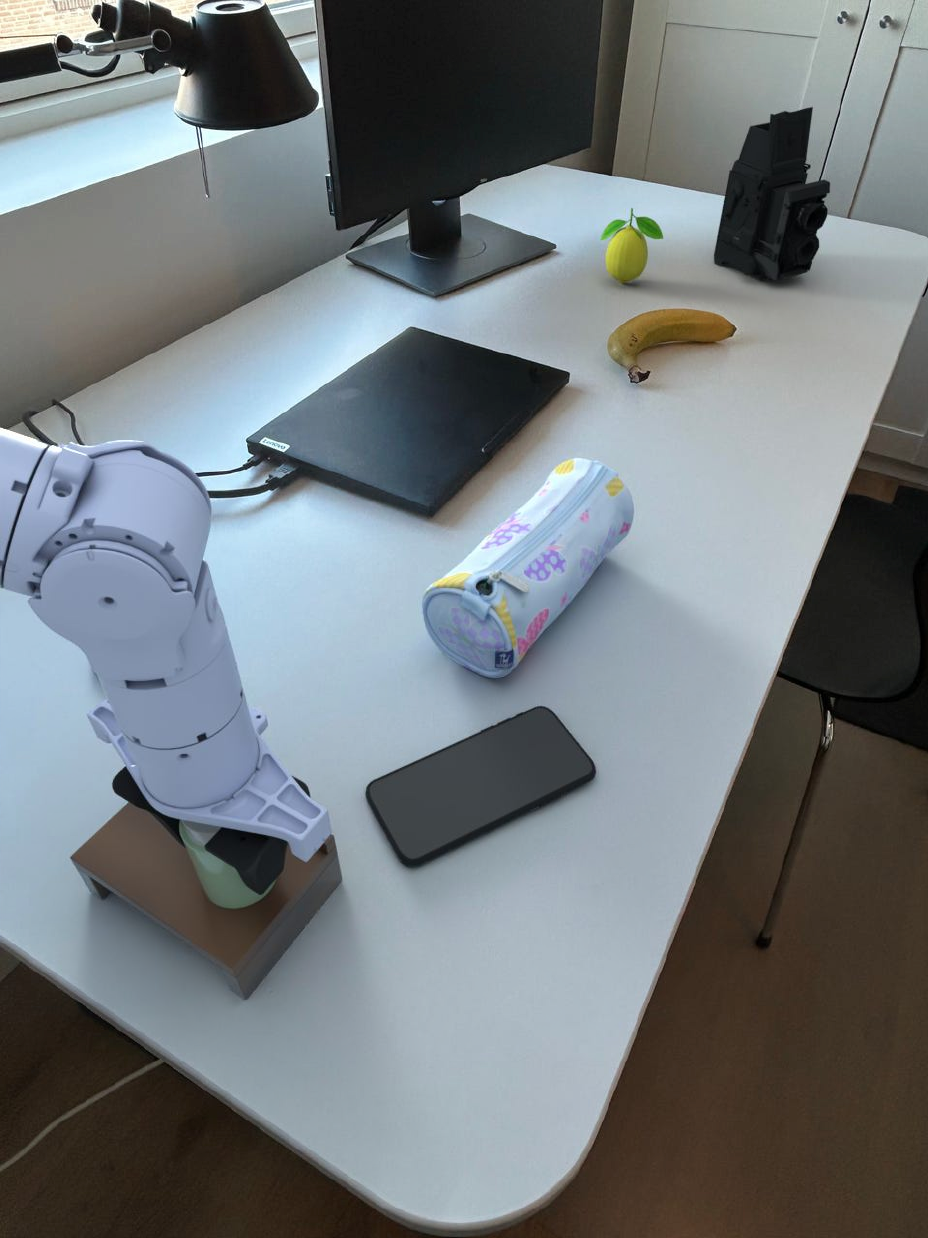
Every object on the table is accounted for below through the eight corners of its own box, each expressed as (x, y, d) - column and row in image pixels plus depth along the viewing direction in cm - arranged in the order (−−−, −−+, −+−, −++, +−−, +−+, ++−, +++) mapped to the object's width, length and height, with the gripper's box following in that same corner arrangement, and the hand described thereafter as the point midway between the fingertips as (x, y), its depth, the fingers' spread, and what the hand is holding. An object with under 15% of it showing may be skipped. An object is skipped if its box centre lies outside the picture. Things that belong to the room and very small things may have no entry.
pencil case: (505, 704, 66) (509, 611, 59) (413, 656, 69) (407, 564, 63) (633, 557, 78) (648, 467, 72) (549, 523, 82) (556, 434, 75)
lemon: (656, 289, 119) (667, 212, 113) (618, 296, 118) (627, 219, 111) (630, 271, 124) (640, 196, 117) (594, 277, 122) (601, 202, 115)
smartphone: (358, 783, 60) (545, 699, 65) (359, 791, 60) (544, 707, 65) (406, 869, 55) (603, 771, 60) (407, 876, 56) (602, 779, 60)
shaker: (189, 902, 50) (158, 832, 45) (218, 836, 53) (192, 763, 48) (263, 915, 49) (240, 844, 44) (288, 847, 52) (269, 774, 48)
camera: (771, 297, 117) (811, 130, 103) (703, 262, 126) (732, 104, 112) (825, 281, 121) (871, 118, 107) (755, 249, 129) (789, 94, 116)
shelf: (246, 1001, 50) (229, 961, 46) (89, 891, 55) (63, 848, 51) (343, 879, 55) (334, 835, 52) (192, 789, 60) (175, 744, 57)
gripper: (358, 707, 40) (380, 864, 50) (135, 597, 46) (193, 757, 55) (254, 819, 36) (299, 968, 45) (23, 682, 42) (105, 840, 51)
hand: (235, 858), depth 50 cm, fingers closed on shaker, 4 cm apart
